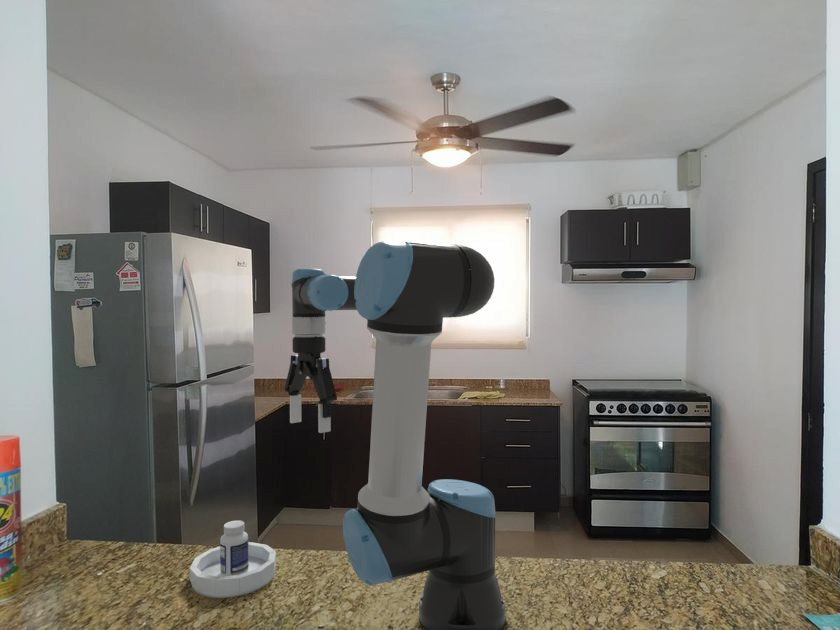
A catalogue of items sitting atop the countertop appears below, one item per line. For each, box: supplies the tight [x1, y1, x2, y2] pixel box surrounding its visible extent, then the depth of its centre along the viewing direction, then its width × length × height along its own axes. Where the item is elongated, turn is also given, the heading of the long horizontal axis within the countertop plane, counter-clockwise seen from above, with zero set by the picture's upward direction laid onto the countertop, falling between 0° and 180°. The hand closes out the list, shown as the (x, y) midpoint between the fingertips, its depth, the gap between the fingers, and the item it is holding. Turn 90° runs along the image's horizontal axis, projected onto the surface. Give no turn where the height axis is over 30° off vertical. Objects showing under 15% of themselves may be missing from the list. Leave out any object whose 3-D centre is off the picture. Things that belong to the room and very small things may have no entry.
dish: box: [189, 541, 277, 599], centre depth 109 cm, size 16×16×4 cm
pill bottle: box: [219, 520, 249, 576], centre depth 109 cm, size 5×5×10 cm
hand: (309, 427), depth 126 cm, fingers open, 13 cm apart
